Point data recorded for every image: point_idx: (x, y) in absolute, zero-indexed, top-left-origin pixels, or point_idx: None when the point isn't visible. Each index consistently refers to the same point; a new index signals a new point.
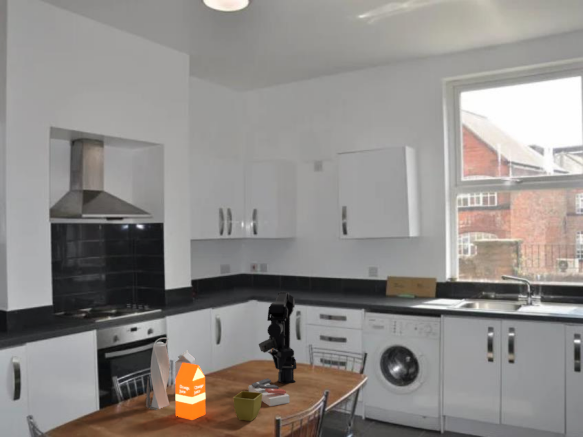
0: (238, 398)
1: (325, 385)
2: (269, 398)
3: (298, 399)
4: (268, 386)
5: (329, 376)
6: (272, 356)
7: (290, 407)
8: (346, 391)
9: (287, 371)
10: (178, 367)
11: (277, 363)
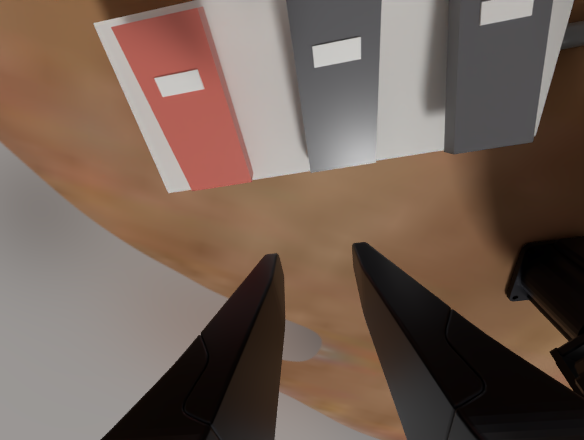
0: None
1: (380, 364)
2: (105, 22)
3: (232, 231)
4: (303, 79)
5: None
6: (557, 404)
7: (100, 156)
8: (279, 387)
9: (575, 314)
10: None
11: (372, 313)
